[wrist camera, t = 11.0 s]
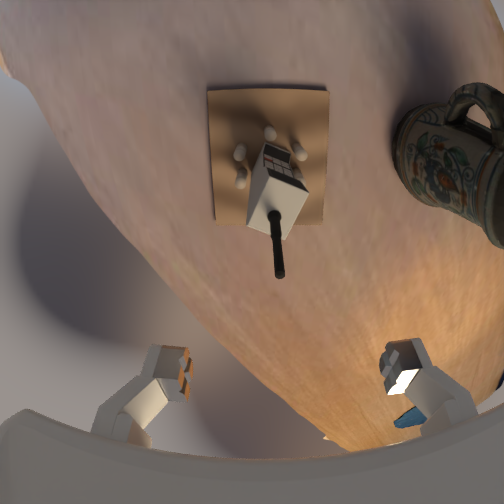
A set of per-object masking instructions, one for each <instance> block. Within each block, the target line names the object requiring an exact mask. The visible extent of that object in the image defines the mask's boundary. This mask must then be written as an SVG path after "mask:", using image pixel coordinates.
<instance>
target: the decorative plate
mask: <svg viewBox="0 0 504 504" xmlns="http://www.w3.org/2000/svg"><path fill="white" fill-rule="evenodd" d="M411 419H412V420H411ZM427 420H428V419H427V418H426V416H425V415H424V414H423V413H422V412H421V411H420V410H419V409H418V408H417V407H414V408H413V409H412V410H410V411H408V412H407V413H405V414H403V416H402V417H401V418H400V419H397V420H396V421H394V425H395V427H397V428H402V429H403V428H405V427H410V426H414V425H420V424H424V423H425V422H426V421H427ZM401 423H402V424H401ZM399 424H400V425H399Z"/></svg>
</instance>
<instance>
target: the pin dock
mask: <svg viewBox="0 0 504 504" xmlns="http://www.w3.org/2000/svg"><path fill="white" fill-rule="evenodd" d="M207 96H208V116H209V134H210V150H211V165H212V179H213V192H214V204H215V216H216V225H246V218H247V209H248V199H249V190H250V181H251V173H252V171H253V168H254V166H255V164H256V161H257V159H258V157H259V154H260V152H261V150H262V147H263V145H264V143H265V142H267V143H269V144H272V145H274V146H277V147H279V148H282V149H284V150H286V151H289V152H290V153H291V158H290V166H291V168H292V171H293V173H294V176H295V179H297V180H300V181H301V182H302V183H303V185H304V186H305V187H306V189H307V190H308V191H309V195H308V197H307V199H306V201H305V203H304V205H303V207H302V208H301V210H300V212H299V214H298V216H297V218H296V220H295V222H294V224H293V225H322V216H323V205H324V194H325V181H326V167H327V150H328V128H329V91H318V90H302V89H231V90H214V91H207Z"/></svg>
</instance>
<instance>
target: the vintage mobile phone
mask: <svg viewBox="0 0 504 504" xmlns="http://www.w3.org/2000/svg"><path fill="white" fill-rule="evenodd" d="M290 158H291V153H290V152H289V151H286V150H284V149H282V148H279V147H277V146H274V145H272V144H269V143H267V142H265V143H264V145H263V147H262V150H261V152H260V154H259V157H258V159H257V161H256V164H255V166H254V168H253V171H252V173H251V181H250V190H249V199H248V209H247V218H246V226H247V227H250V228H253V229H256V230H258V231H261V232H264V233H266V234H269V235H271V238H272V240H273V253H274V268H275V277H276V278H278V279H282V278H284V277H285V270H284V261H283V252H282V244H281V239H282V240H285V239H286V237H287V235H288V233H289V232H290V230H291V228H292V226H293V224H294V222H295V220H296V218H297V216H298V214H299V212H300V210H301V208H302V207H303V205H304V203H305V201H306V199H307V197H308V195H309V191H308V190H307V189H306V187H305V186H304V185H303V183H302V182H301V181H300V180H297V179H295V176H294V173H293V171H292V168H291V166H290Z"/></svg>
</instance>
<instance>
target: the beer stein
mask: <svg viewBox="0 0 504 504" xmlns="http://www.w3.org/2000/svg"><path fill="white" fill-rule="evenodd" d="M475 104H476V105H478V106H479V107H480V108H481V109H482V110H483V111H484V113H485V114H486V116H487V118H488V119H489V121H490V123H491V126H490V128H491V129H489V128H488V127H486V126H484V125H482V124H480V123H478V122H475V121H473V120H471V119H470V118H468V117H467V116H466V115H467V113H468V110H469V108H470V107H471V106H473V105H475ZM392 158H393V162H394V167H395V169H396V171H397V173H398V175H399V177H400V179H401V181H402V183H403V184H404V186H405V187H406V189H407V190H408V191H409V192H410V194H411V195H412V196H413V197H414V198H416V199H417V200H418V201H420V202H422V203H424V204H426V205H428V206H432V207H441V208H444V209H446V210H449V211H451V212H453V213H456V214H458V215H459V216H461V217H463V218H465V219H467V220H469V221H471V222H472V223H474V224H476V225H478V226H480V227H482V229H483V231H484V232H485V234H486V235H487V237H488V239H489V240H490V242H491V243H492V244H493V245H495V246H496V247H498V248H501V249H504V94H503V93H501V92H500V91H498V90H497V89H495V88H494V87H492V86H490V85H488V84H485V83H470V84H466V85H463V86H462V87H460V88H459V89H457V90H456V91H455V92H454V93H453V95H452V96H451V98H450V100H449V102H448V104H445V103H431V104H426V105H420V106H418V107H416V108H415V109H413V110H411V111H409V112H408V113H407V114H406V116H405V117H404V118H403V119H402V121H401V122H400V123H399V124H398V126H397V129H396V133H395V136H394V139H393V142H392Z"/></svg>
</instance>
